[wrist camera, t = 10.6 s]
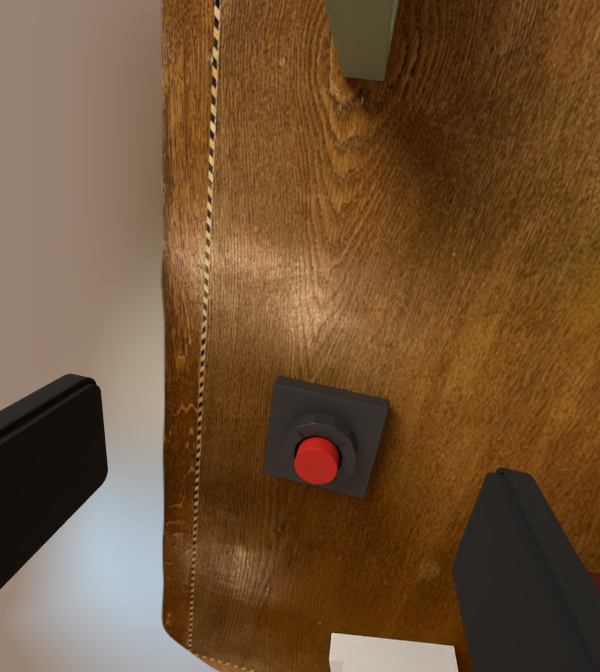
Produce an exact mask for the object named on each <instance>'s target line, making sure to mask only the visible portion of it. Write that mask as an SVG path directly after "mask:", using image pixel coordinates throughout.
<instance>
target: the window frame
mask: <svg viewBox="0 0 600 672" xmlns="http://www.w3.org/2000/svg"><path fill="white" fill-rule="evenodd" d="M323 1H324V5H325V9H326V13H327V17H328V21H329V25H330V29H331V33H332V36H333V40H334V44H335V48H336V52H337V56H338V60H339V64H340V68H341V72H342V75H343V77H349V78H357V79H366V80H375V81H384V78H385V73H386V68H387V62H388V57H389V52H390V47H391V42H392V36H393V31H394V26H395V21H396V15H397V10H398V5H399V0H323Z"/></svg>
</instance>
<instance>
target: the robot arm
mask: <svg viewBox="0 0 600 672" xmlns="http://www.w3.org/2000/svg"><path fill="white" fill-rule="evenodd" d="M107 472H108V466H107V455H106V444H105V432H104V421H103V410H102V400H101V390H100V388H99V386H97V385H96V382H95V380H94V379H92V378H89V377H84V376H79V375H74V374H67V375H64V376H62V377H61V378H59V379H57V380H55V381H53V382H52V383H50V384H48V385H46V386H44V387H42V388H41V389H39V390H37V391H35V392H33V393H32V394H30V395H29V396H26V397H25V398H23V399H21V400H19V401H17V402H15V403H14V404H12V405H10V406H8V407H6V408H5V409H3V410H1V411H0V589H1V588H2V587H3V586H4V585H5V584H6V583H7V582H8V581H9V580H10V579H11V578H12V577H13V576H14V575H15V573H17V571H19V569H20V568H21V567H22V566H23V565H24V564H25V563H26V562H27V561H28V560H29V559H30V558H31V557H32V556H33V555H34V554H35V553H36V552H37V551H38V550H39V549H40V548H41V546H43V545H44V544H45V543H46V542H47V541H48V540H49V538H51V537H52V535H53V534H54V533H55V532H56V531H57V530H58V529H59V528H60V527H61V526H62V525H63V524H64V523H65V522H66V521H67V520H68V519H69V518H70V517H71V516H72V515H73V514H74V513H75V512H76V511H77V510H78V509H79V508H80V507H81V506H82V505H83V504H84V503H85V502H86V500H87V499H88V498H89V497H90V496H91V495H92V494H93V493H94V492H95V491H96V490H97V489H98V488H99V487H100V486H101V485H102V484H103V482H104V481H105V479H106V476H107ZM453 577H454V582H455V587H456V592H457V597H458V602H459V607H460V612H461V616H462V621H463V626H464V631H465V636H466V641H467V646H468V651H469V655H470V660H471V665H472V670H473V672H600V593H599V591H598V589H597V588H596V586H595V584H594V582H593V581H592V579H591V577H590V575H589V574H588V572H587V570H586V568H585V567H584V565H583V563H582V562H581V560H580V559H579V558H578V556H577V554H576V552H575V551H574V549H573V547H572V545H571V543H570V542H569V540H568V538H567V536H566V535H565V533H564V531H563V529H562V528H561V526H560V524H559V522H558V521H557V519H556V517H555V515H554V514H553V512H552V510H551V508H550V506H549V505H548V503H547V501H546V499H545V498H544V496H543V494H542V492H541V491H540V489H539V487H538V485H537V484H536V482H535V480H534V478H533V477H532V476H531V475H530V474H528V473H524V472H519V471H515V470H510V469H506V468H498V469H497V470H496V472H495V473H492V472H489V473H488V474H487V475H486V477H485V480H484V482H483V485H482V488H481V490H480V493H479V495H478V498H477V501H476V503H475V506H474V508H473V511H472V514H471V516H470V519H469V521H468V524H467V527H466V529H465V532H464V534H463V537H462V539H461V542H460V545H459V547H458V550H457V552H456V555H455V558H454V562H453Z"/></svg>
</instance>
